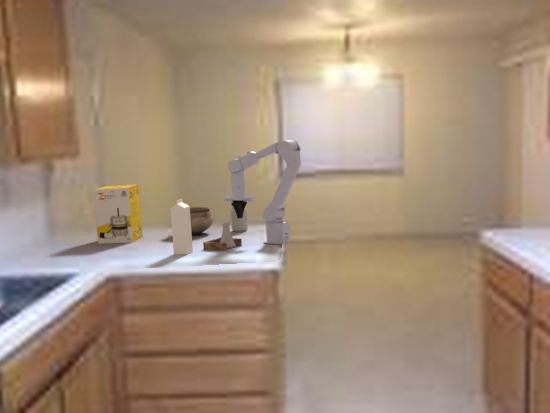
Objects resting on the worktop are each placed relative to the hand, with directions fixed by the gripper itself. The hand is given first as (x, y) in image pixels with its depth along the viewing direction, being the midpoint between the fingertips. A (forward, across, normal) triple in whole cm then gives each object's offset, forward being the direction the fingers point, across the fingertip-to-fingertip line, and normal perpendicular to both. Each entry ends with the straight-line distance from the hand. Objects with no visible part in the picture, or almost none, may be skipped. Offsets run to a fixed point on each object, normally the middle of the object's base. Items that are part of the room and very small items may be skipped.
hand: (240, 218), depth 305 cm
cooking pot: (+11, +36, -13) cm, 40 cm away
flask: (+11, -1, +12) cm, 17 cm away
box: (+10, 0, +14) cm, 17 cm away
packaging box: (+11, +62, +9) cm, 64 cm away
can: (+11, +19, -27) cm, 35 cm away
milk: (+11, +9, +29) cm, 32 cm away
